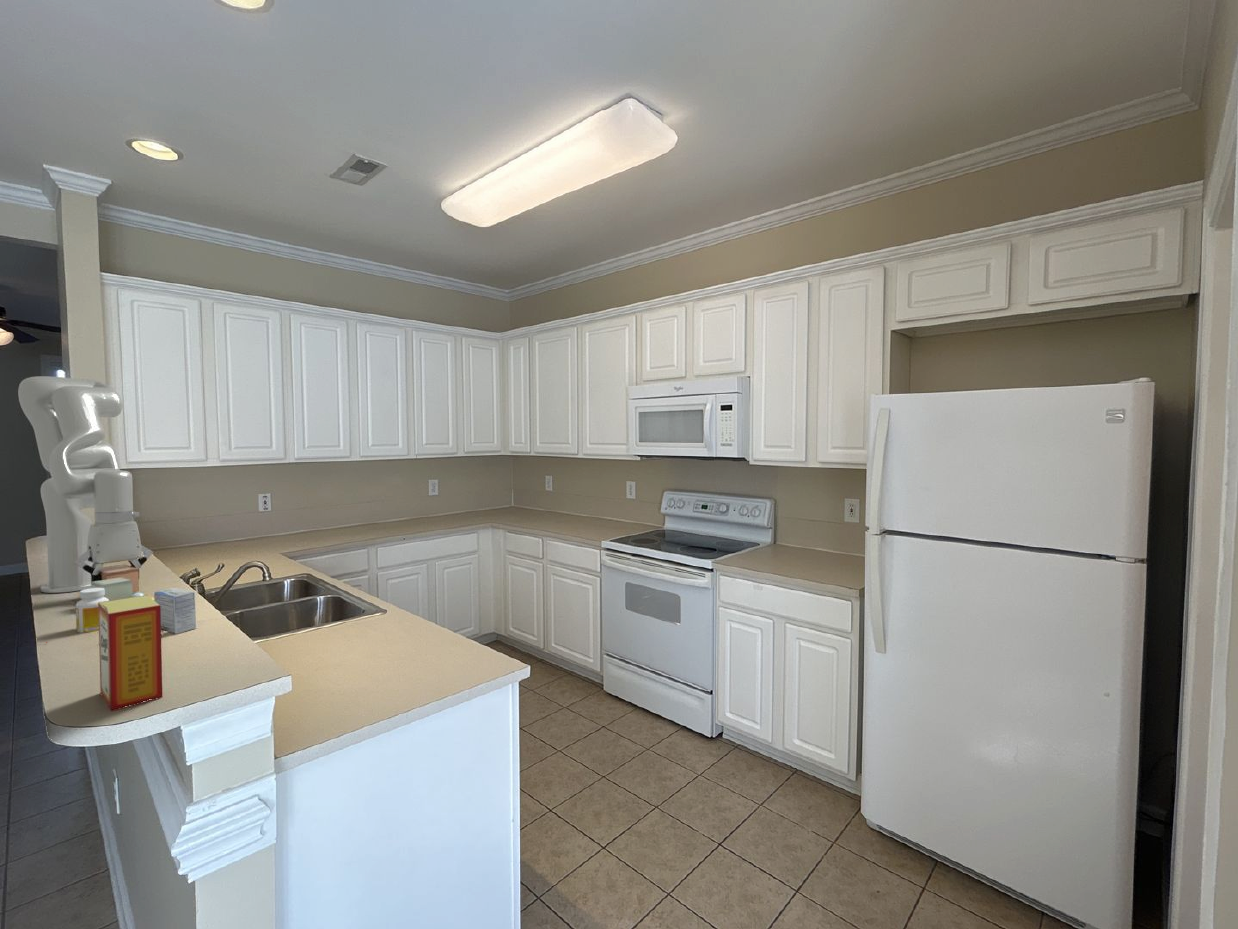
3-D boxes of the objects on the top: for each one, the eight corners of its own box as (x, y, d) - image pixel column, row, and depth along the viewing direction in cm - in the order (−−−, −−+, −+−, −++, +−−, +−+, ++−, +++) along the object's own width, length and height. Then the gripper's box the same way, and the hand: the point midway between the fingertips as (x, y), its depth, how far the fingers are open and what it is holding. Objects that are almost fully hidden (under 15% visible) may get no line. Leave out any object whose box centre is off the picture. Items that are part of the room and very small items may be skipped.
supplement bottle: (116, 630, 129) (115, 587, 129) (92, 638, 124) (91, 593, 123) (94, 629, 130) (93, 586, 129) (69, 637, 124) (68, 592, 124)
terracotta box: (93, 591, 150) (92, 568, 150) (124, 586, 156) (124, 564, 155) (106, 597, 146) (106, 573, 145) (138, 591, 151) (138, 568, 151)
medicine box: (196, 629, 131) (196, 591, 130) (174, 635, 127) (174, 596, 126) (176, 623, 134) (175, 586, 134) (154, 629, 130) (153, 591, 130)
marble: (132, 608, 142) (127, 603, 144) (147, 605, 145) (141, 600, 146) (133, 596, 142) (128, 592, 143) (148, 594, 144) (142, 589, 146)
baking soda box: (100, 693, 98) (98, 600, 97) (149, 681, 103) (147, 592, 102) (111, 711, 92) (108, 612, 91) (162, 697, 97) (160, 603, 96)
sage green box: (92, 606, 142) (91, 581, 142) (122, 600, 147) (122, 577, 147) (101, 610, 139) (101, 585, 139) (132, 604, 144) (132, 580, 144)
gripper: (148, 513, 159) (149, 577, 160) (64, 520, 144) (66, 591, 145) (160, 515, 155) (162, 581, 156) (75, 523, 140) (77, 596, 141)
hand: (115, 585), depth 151 cm, fingers closed on terracotta box, 6 cm apart
